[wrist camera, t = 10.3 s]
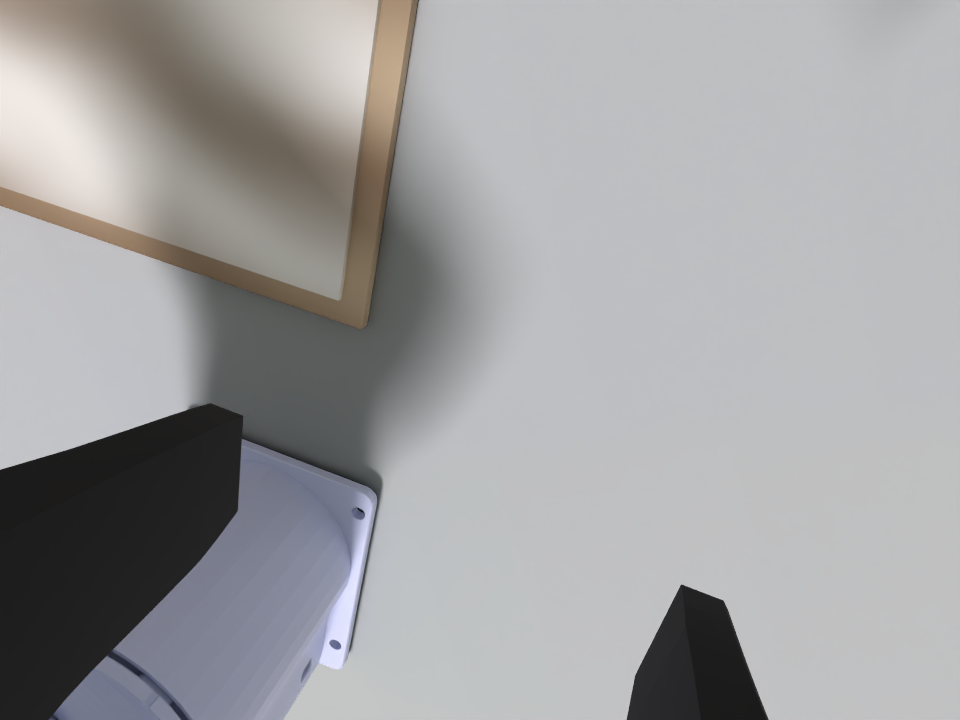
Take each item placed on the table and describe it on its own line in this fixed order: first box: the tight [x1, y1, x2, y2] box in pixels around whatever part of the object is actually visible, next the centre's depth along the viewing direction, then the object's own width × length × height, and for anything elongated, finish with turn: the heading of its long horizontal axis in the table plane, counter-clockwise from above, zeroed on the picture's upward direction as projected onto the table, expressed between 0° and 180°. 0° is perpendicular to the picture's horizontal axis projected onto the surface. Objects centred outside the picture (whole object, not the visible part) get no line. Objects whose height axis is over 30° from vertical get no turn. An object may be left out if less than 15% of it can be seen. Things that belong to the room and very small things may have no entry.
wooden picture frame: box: [0, 0, 418, 330], centre depth 20 cm, size 12×15×1 cm
